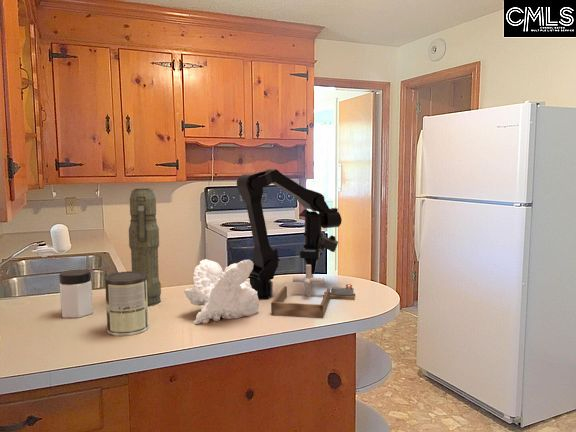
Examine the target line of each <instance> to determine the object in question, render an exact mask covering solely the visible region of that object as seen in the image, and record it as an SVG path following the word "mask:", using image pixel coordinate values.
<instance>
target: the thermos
mask: <svg viewBox="0 0 576 432" xmlns="http://www.w3.org/2000/svg"><path fill="white" fill-rule="evenodd" d="M129 215H130V220H129V221H130V224H129V227H128V246H129V249H130V252H131V253H130V254H131V256H130V257H131V261H130V262H131V271H138V272H144V273H146V274H147V302H148V307H151V306H156V305H158V304H160V303H161V302H162V301H161V294H162V286H161V285H162V284H161V281H160V279H159V278H160V277H159V275H160V274H159V247H160V228H159V225H158V223H157V218H156V217H157V216H156V215H157V198H156V196H155V193H154V190H153V189H151V188H134V189H133V190H131V193H130V196H129Z"/></svg>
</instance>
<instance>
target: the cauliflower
mask: <svg viewBox="0 0 576 432" xmlns="http://www.w3.org/2000/svg"><path fill="white" fill-rule="evenodd" d="M253 265H254V263H253V260H251V259H243V260H241V261H239V262H237V263H236V262H235V263H231V264H230V265H229V266H226V267H225V268H224V269H223V268H222V266H221V265H220V264H219V263H218V262H217V261H214V260H209V259H207V258H205V259H201V260H199V264H197V265H196V266H195V267H194V270H193V274H192V279H193V280H192V281H193V283H192V284H193V285H194V287H189V288H186V289H184V291H183V293H184V295H185V297H186V298H187V299H188V301H189V302H190V304H192V305H194V306H199V307H200V306H201V308H200V309H201V310H200V311H198V312H197V314H196V316H195V320H194V321H193V323H194V325H199V324H207V323H209V322H210V320H213V321H215V322H218V321H220V320H221V318H223V319H226V320H231V319H240V318H242V317H251V316H254V315H256V314H257V312H258V310H259V307H260V300H259V299H258V295H257V291H255V290H254V289H252V287H251V285H250V281H249V282H248V281H247V280H248V278H250V276H249V275H250V273H251V271H252V270H253Z"/></svg>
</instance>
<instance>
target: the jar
mask: <svg viewBox="0 0 576 432" xmlns="http://www.w3.org/2000/svg"><path fill="white" fill-rule="evenodd" d="M91 273H92V272H91V270H89V269H81V268H80V269H69V270H66V271H61V272H60V273H59V274H58V275H59V276H58V277H59V278H58V279H59V290H60V291H59V293H60V294H59V295H60V310H61V315H62V318H64V319H66V318H68V319H73V318H74V319H75V318H76V319H78V318H82V317H85V316H88V315H92V314H93V313H94V309H93V291H92V290H93V289H92V288H93V287H92V286H93V285H92V274H91Z"/></svg>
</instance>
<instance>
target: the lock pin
mask: <svg viewBox="0 0 576 432" xmlns="http://www.w3.org/2000/svg"><path fill="white" fill-rule="evenodd" d="M330 292H331V295H336V296H354V293H355V292H354V287H353V284H352V283H351V284H349V283H347V284H345V287H338V286H337V287H335V286H331V288H330Z"/></svg>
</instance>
